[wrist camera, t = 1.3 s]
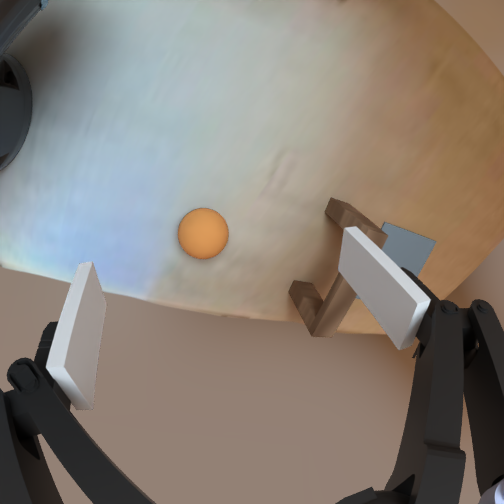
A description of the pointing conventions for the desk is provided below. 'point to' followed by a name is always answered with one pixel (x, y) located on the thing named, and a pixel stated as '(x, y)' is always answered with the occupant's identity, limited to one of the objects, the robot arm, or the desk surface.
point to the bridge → (341, 293)
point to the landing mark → (406, 248)
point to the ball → (203, 233)
